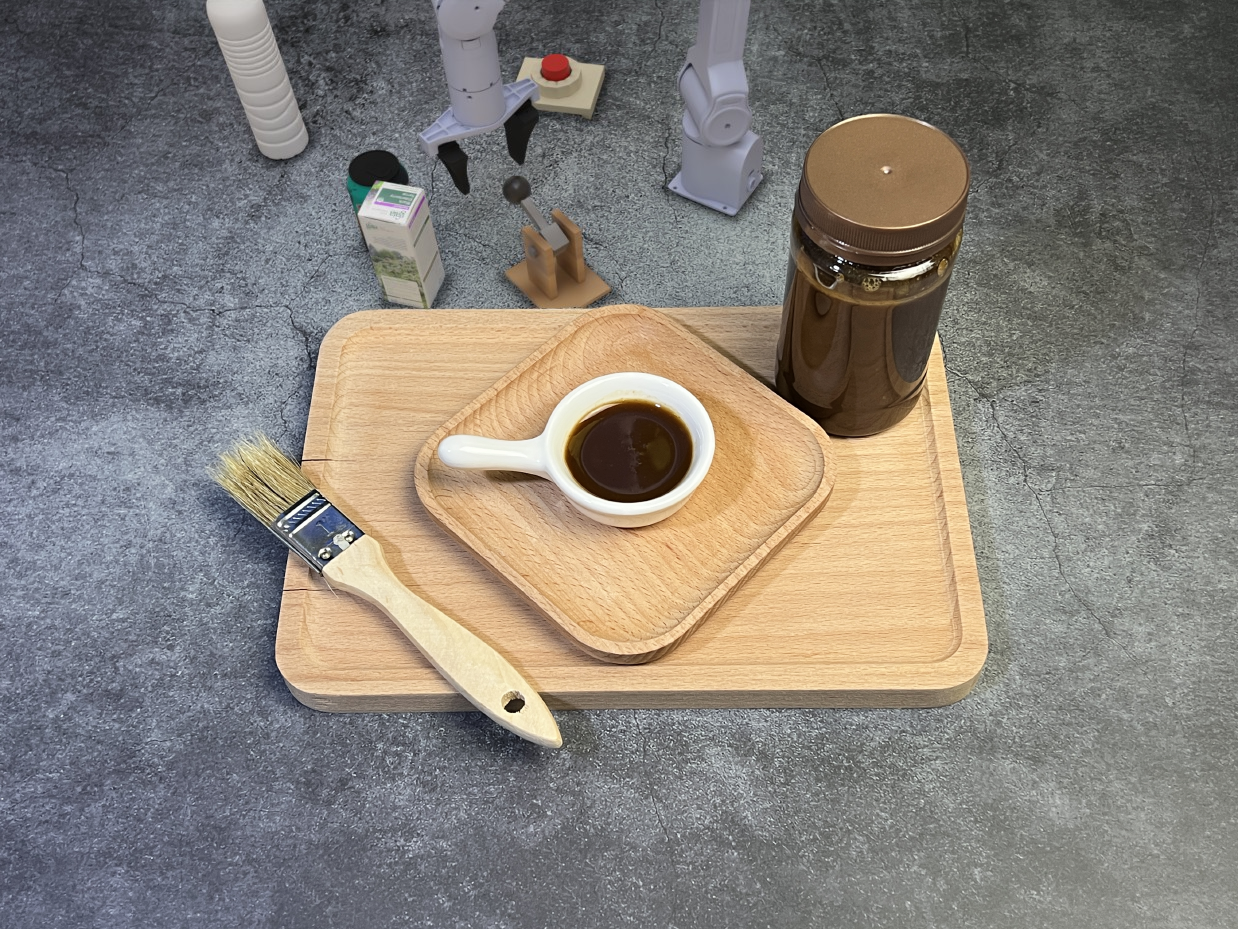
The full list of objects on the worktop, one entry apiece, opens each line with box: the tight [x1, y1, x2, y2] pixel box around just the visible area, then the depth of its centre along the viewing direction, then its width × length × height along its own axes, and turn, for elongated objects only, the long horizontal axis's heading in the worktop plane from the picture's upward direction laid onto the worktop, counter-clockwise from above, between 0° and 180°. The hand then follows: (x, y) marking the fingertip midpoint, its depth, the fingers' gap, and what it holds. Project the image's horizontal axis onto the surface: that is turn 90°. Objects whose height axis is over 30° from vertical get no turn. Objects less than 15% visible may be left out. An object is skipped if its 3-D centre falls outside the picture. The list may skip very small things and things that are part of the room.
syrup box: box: [357, 180, 446, 309], centre depth 123 cm, size 6×6×14 cm
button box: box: [515, 55, 606, 120], centre depth 146 cm, size 11×9×4 cm
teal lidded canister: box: [345, 149, 412, 254], centre depth 128 cm, size 7×7×12 cm
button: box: [541, 53, 570, 82], centre depth 144 cm, size 4×4×2 cm
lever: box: [501, 174, 569, 257], centre depth 123 cm, size 10×3×3 cm, turn 39°
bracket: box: [504, 208, 612, 309], centre depth 125 cm, size 10×8×9 cm
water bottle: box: [205, 0, 309, 160], centre depth 134 cm, size 9×6×25 cm
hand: (490, 174), depth 127 cm, fingers open, 7 cm apart
